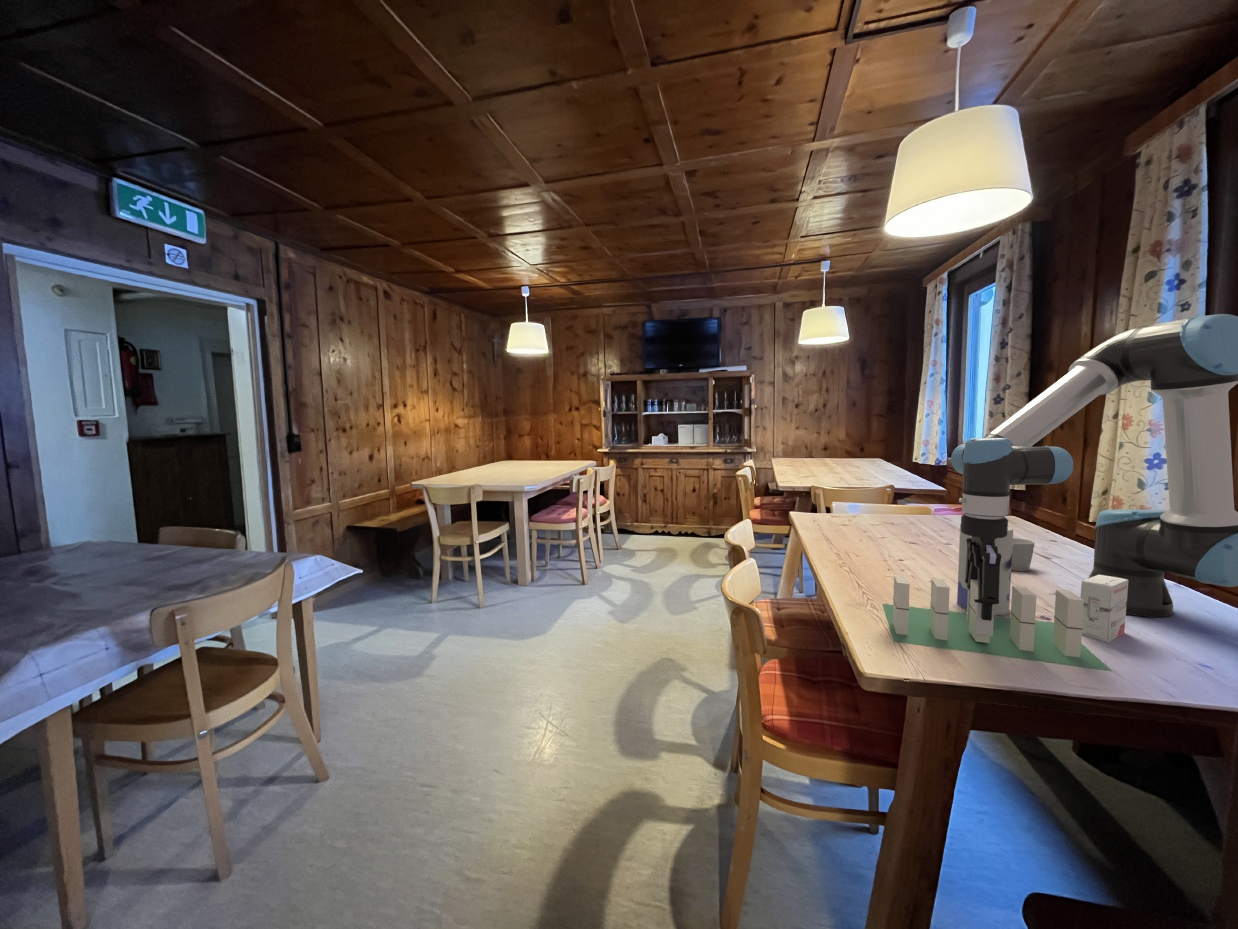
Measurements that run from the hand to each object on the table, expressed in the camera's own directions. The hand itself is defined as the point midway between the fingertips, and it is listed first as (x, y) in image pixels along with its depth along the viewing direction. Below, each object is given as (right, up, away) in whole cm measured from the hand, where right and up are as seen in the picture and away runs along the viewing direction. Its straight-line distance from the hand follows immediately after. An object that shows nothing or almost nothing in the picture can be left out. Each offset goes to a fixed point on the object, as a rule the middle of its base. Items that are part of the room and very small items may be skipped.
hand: (979, 627), depth 100 cm
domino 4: (+6, -3, -3) cm, 7 cm away
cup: (+44, +2, +46) cm, 64 cm away
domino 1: (-13, -2, +6) cm, 14 cm away
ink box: (+27, -2, +2) cm, 27 cm away
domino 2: (-6, -2, +3) cm, 7 cm away
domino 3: (0, -2, 0) cm, 2 cm away
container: (+13, -1, +17) cm, 22 cm away
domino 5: (+13, -3, -5) cm, 14 cm away
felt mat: (+2, -2, +4) cm, 5 cm away
